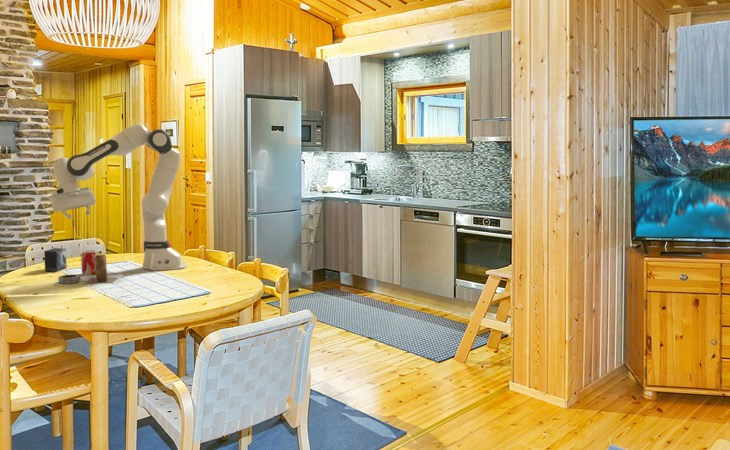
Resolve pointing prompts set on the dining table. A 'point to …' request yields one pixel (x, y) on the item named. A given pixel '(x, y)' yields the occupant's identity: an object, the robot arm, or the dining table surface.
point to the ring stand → (69, 280)
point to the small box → (55, 259)
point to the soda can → (88, 262)
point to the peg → (101, 268)
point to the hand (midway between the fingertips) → (79, 216)
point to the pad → (94, 281)
